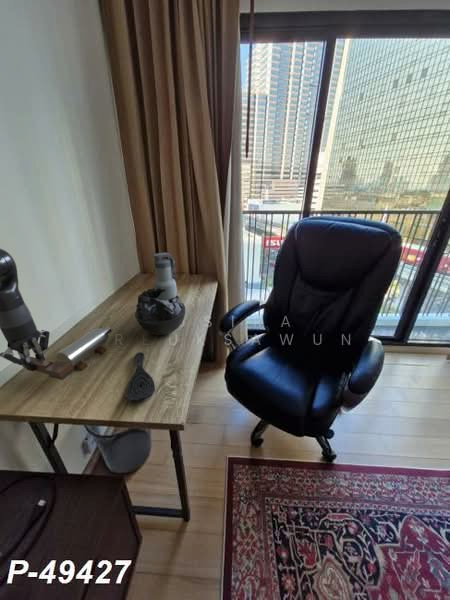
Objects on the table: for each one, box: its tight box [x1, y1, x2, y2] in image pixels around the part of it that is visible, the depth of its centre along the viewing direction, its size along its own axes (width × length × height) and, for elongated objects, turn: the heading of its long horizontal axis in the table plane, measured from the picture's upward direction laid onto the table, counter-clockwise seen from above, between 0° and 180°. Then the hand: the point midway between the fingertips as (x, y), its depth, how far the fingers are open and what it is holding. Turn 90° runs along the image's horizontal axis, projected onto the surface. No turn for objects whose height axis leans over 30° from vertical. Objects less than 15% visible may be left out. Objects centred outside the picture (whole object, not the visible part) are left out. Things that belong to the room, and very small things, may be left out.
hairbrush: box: [126, 351, 156, 403], centre depth 81 cm, size 8×4×25 cm
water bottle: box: [153, 252, 178, 300], centre depth 117 cm, size 10×10×28 cm
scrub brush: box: [21, 356, 75, 381], centre depth 77 cm, size 19×4×3 cm, turn 69°
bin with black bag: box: [134, 287, 186, 336], centre depth 102 cm, size 20×20×19 cm
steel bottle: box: [56, 326, 113, 371], centre depth 92 cm, size 20×8×8 cm, turn 159°
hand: (37, 366), depth 79 cm, fingers closed on scrub brush, 2 cm apart
